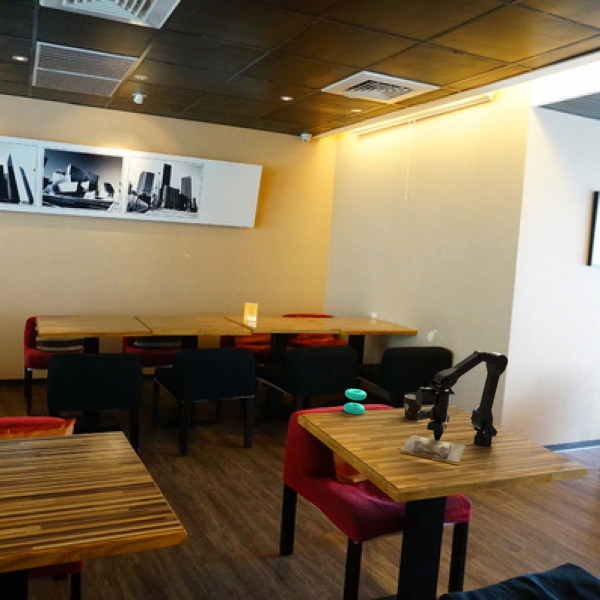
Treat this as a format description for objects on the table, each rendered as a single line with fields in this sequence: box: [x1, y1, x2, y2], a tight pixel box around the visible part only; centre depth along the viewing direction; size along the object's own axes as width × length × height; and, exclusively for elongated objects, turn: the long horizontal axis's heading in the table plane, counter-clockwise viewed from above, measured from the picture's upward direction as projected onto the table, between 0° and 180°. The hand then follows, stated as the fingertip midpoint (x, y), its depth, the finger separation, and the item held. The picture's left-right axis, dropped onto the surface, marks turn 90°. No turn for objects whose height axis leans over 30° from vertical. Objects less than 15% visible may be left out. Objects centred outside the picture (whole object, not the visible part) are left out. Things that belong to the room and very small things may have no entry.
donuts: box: [343, 388, 367, 415], centre depth 291 cm, size 10×10×10 cm
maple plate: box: [418, 436, 452, 454], centre depth 243 cm, size 12×8×2 cm, turn 68°
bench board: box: [399, 434, 467, 467], centre depth 245 cm, size 22×22×5 cm
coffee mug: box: [402, 394, 423, 421], centre depth 291 cm, size 12×9×10 cm
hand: (436, 442), depth 248 cm, fingers closed
